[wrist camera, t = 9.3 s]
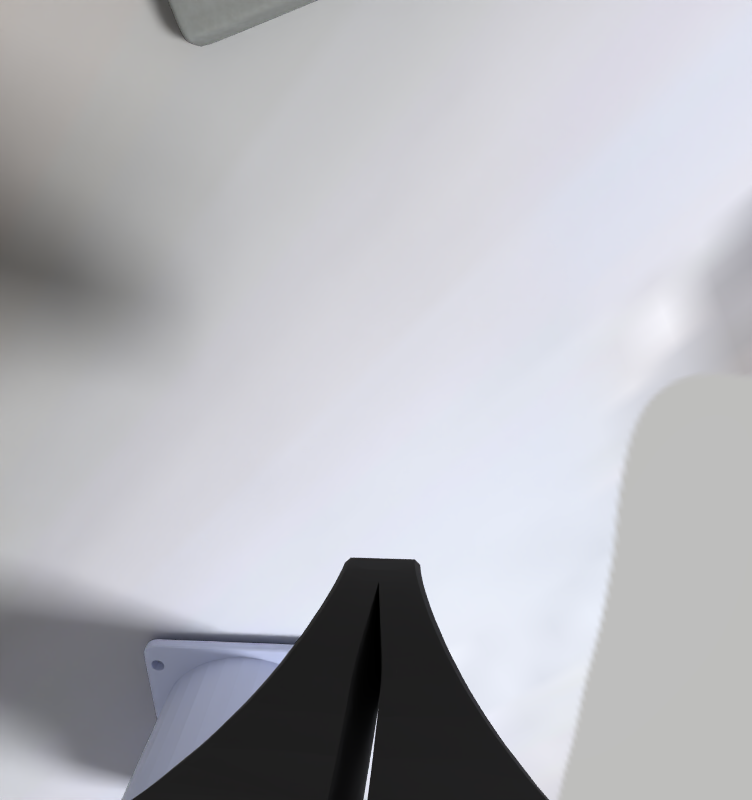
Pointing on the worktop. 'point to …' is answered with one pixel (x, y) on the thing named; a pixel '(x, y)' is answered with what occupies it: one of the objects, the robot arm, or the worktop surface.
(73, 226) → the worktop surface
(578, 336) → the worktop surface
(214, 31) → the grey flat tray
